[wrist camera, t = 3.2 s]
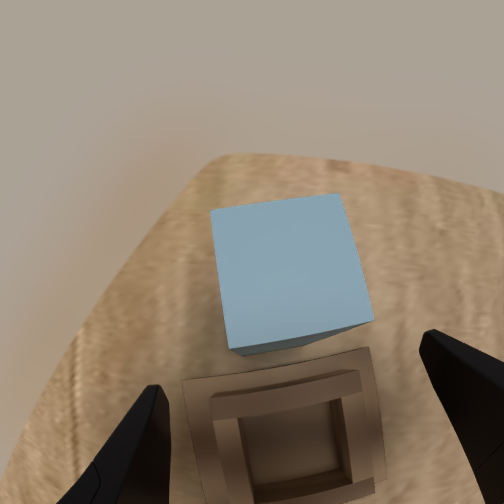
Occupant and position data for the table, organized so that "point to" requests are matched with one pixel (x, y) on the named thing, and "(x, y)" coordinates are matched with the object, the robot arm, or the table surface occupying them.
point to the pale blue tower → (288, 273)
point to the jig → (289, 432)
